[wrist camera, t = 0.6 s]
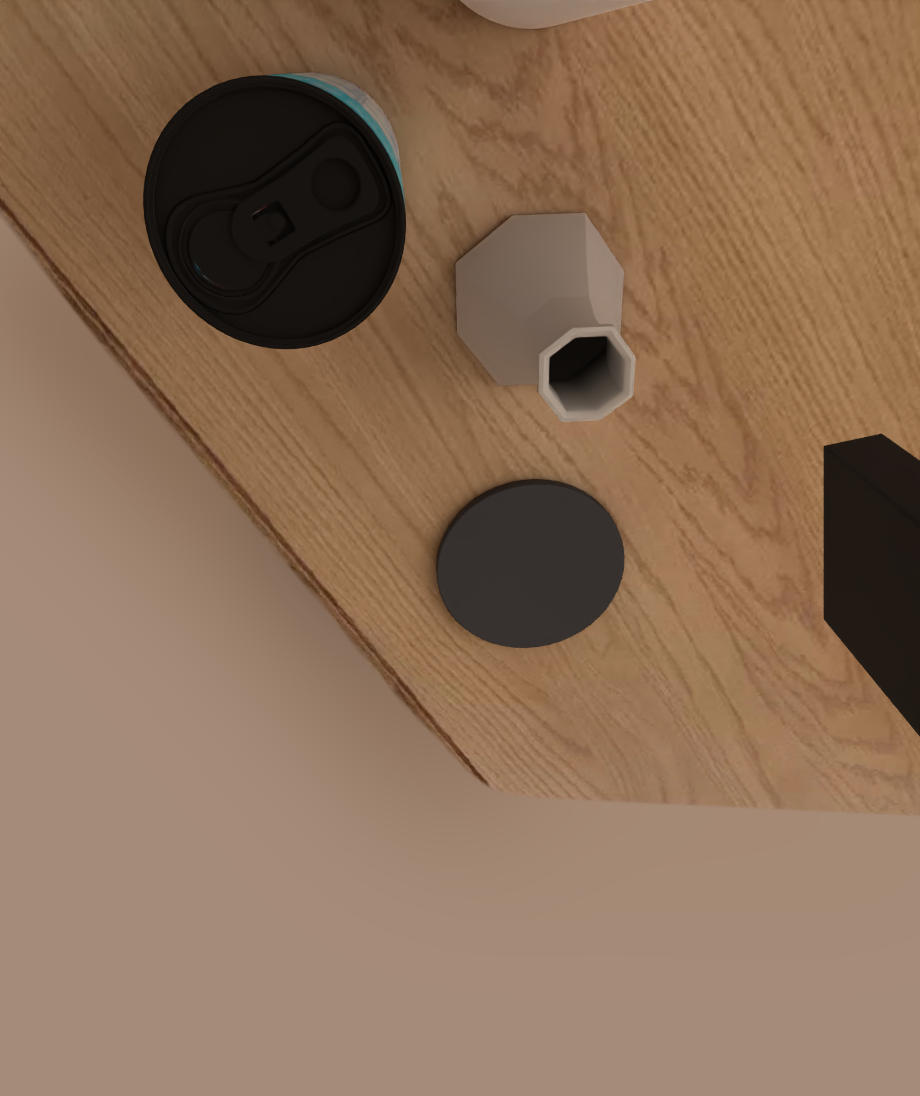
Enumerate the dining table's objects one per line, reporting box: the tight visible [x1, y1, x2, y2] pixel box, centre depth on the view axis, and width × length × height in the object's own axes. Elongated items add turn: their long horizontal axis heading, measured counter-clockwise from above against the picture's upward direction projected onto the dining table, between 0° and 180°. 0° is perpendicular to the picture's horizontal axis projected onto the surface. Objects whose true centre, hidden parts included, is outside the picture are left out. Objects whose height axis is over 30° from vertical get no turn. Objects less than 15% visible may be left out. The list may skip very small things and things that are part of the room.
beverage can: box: [143, 72, 406, 349], centre depth 27 cm, size 6×6×15 cm
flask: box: [455, 213, 636, 422], centre depth 32 cm, size 7×7×10 cm
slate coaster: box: [436, 480, 624, 648], centre depth 42 cm, size 9×9×1 cm
